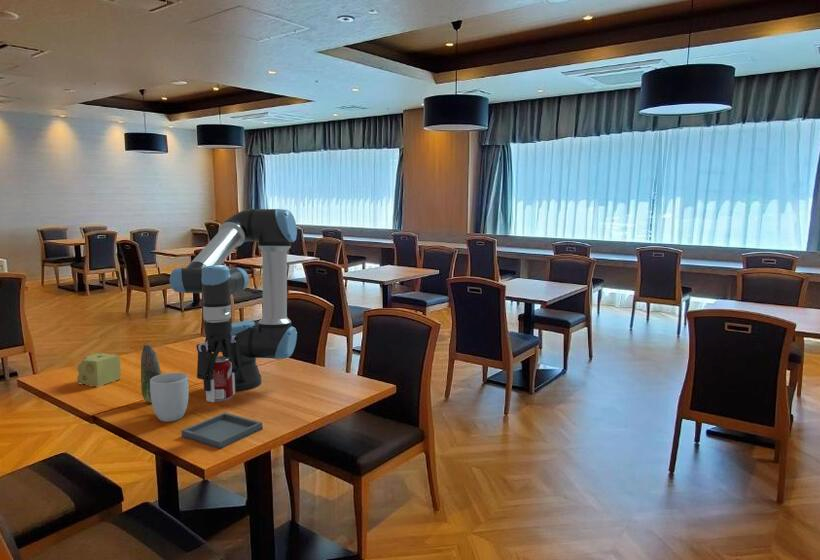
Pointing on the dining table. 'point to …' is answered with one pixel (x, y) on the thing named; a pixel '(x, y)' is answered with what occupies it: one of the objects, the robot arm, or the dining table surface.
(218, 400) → the soda can
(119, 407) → the dining table surface
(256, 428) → the tray
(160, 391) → the mug
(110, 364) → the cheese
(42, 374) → the dining table surface
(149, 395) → the vegetable
